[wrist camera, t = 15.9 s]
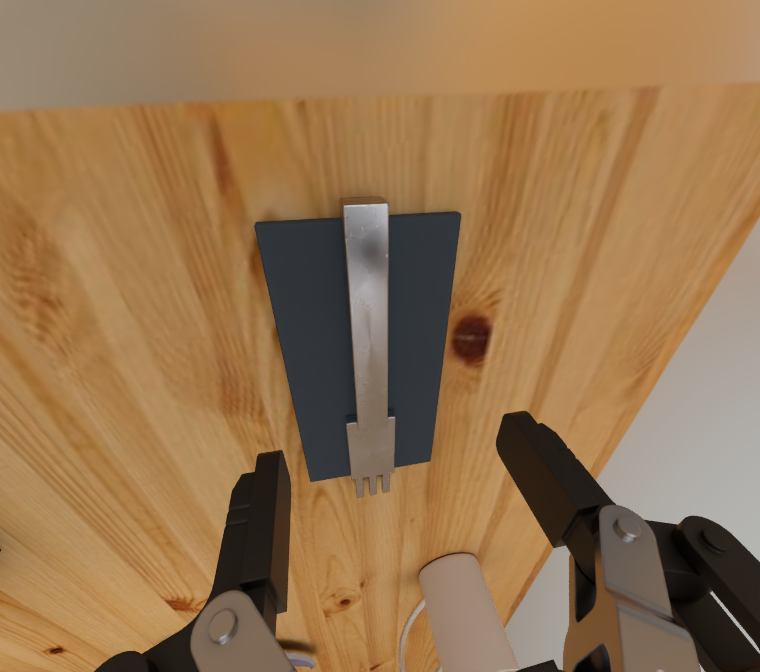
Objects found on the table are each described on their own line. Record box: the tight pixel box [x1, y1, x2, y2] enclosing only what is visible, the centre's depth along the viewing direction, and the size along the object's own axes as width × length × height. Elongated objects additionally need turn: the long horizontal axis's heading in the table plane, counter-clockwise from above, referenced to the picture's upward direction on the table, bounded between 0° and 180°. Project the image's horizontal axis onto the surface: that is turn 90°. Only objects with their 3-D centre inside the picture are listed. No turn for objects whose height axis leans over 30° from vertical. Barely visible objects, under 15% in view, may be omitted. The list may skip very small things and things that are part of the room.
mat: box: [254, 212, 461, 482], centre depth 21 cm, size 20×10×1 cm, turn 1°
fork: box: [340, 197, 395, 498], centre depth 20 cm, size 23×3×2 cm, turn 1°
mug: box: [399, 553, 520, 672], centre depth 37 cm, size 12×8×10 cm, turn 96°
